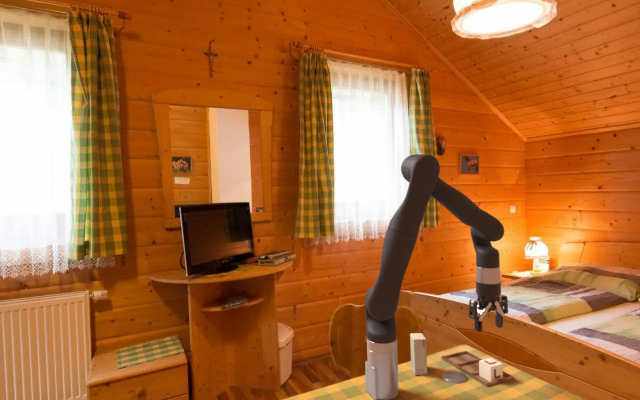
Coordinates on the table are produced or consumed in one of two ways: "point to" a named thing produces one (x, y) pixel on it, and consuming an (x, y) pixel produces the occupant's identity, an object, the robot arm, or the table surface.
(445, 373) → the slate coaster
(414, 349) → the skincare box
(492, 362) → the letter cube
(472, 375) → the tray
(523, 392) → the table surface
